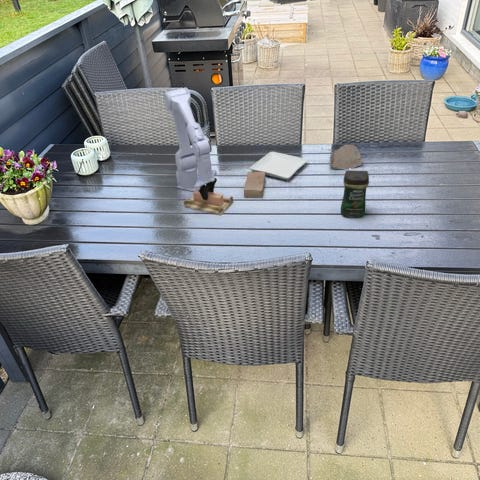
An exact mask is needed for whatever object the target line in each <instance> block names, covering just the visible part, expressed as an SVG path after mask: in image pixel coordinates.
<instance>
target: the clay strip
mask: <svg viewBox="0 0 480 480" xmlns="http://www.w3.org/2000/svg"><path fill="white" fill-rule="evenodd" d="M192 198H194V201H197V202H201V203H206V204H210V205H215V206H219V207H221V206H222V205H223V204H224V200H223V198H224V194H221V193H216V192H208V200H203V199H202V196H201V194H200V192H199V191H198V190H195V191H192Z"/></svg>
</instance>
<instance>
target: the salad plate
mask: <svg viewBox="0 0 480 480" xmlns="http://www.w3.org/2000/svg"><path fill="white" fill-rule="evenodd" d="M308 161H309V159H307V158H305V157H304V158H303V157H299V156H295V155H290V154H285V153H282V152H278V151H277V152H276V151H270V152H268V153H267V154H265V155H264V156H263V157H262V158H260V159H259V160H258V161H256V162H255V163H254V164H253V165H251V166H250V167H249V169H250V171H252V172H265V176H269V177H273V178H277V179H281V180H285V181H287V180H290V179H291V177H292V176H293V175H294V174H296V172H298V170H300V169H301V168H302V167H303V166H304V165H306V164H307V163H308Z"/></svg>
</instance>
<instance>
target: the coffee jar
mask: <svg viewBox="0 0 480 480" xmlns="http://www.w3.org/2000/svg"><path fill="white" fill-rule="evenodd" d="M369 176H370V175H369V171H368V170H346V171H345V172H344V175H343V186H344V189H343V196H342V201H341V206H340V214H341V215H342V217H345V218H362V217H364V216H365V215H366V205H367V204H366V197H367V195H366V194H367V188H368V187H369V184H370V177H369Z"/></svg>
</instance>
